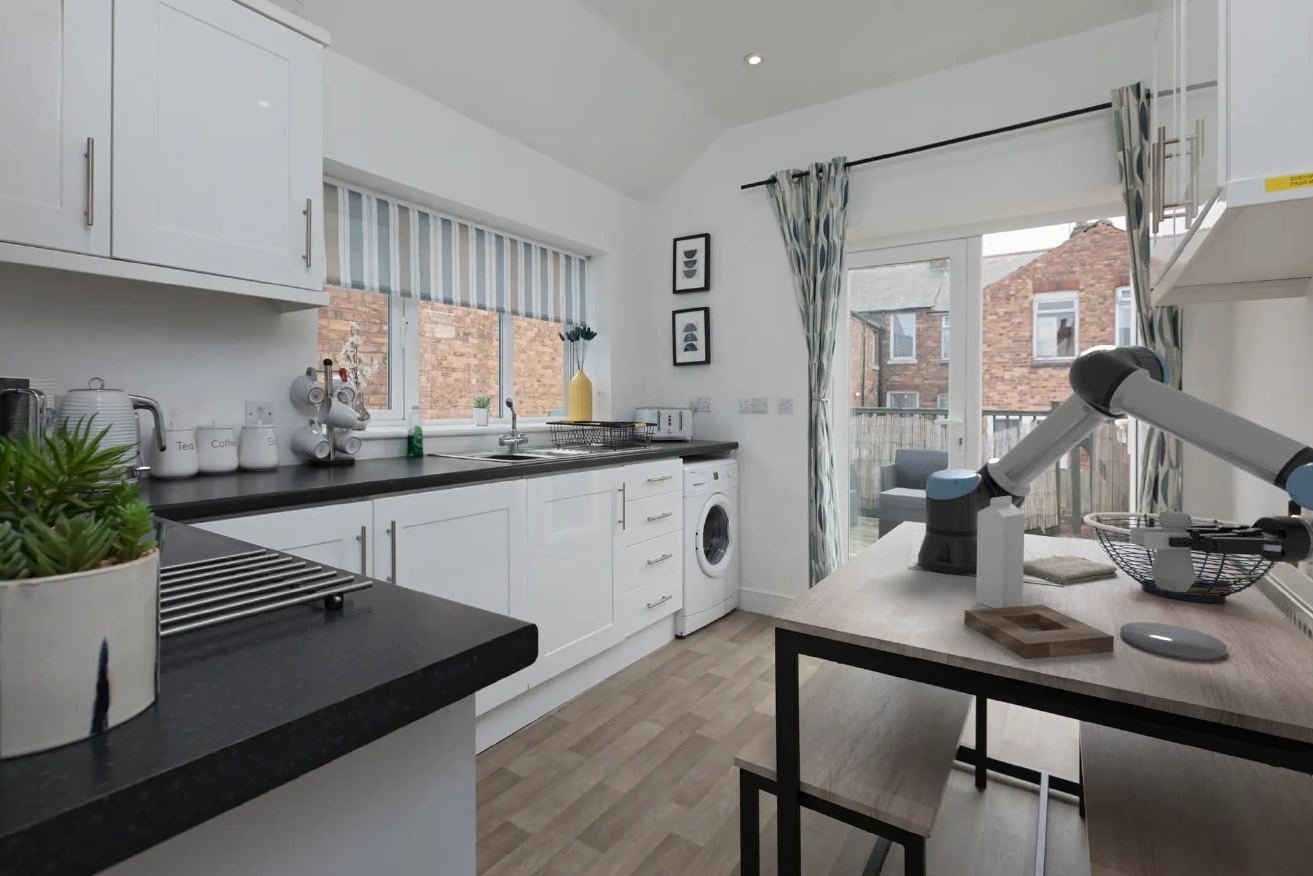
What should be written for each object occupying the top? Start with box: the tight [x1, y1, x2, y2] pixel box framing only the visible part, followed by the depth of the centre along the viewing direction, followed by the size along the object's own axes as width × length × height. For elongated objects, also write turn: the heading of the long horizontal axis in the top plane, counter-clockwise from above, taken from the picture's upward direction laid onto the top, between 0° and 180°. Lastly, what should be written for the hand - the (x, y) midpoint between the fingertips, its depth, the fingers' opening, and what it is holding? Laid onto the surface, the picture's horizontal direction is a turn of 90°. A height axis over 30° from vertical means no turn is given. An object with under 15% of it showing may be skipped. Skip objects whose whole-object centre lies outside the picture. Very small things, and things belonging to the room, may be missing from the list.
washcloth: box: [1023, 555, 1118, 585], centre depth 148 cm, size 12×18×3 cm, turn 111°
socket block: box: [964, 604, 1115, 660], centre depth 112 cm, size 16×16×2 cm
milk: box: [975, 496, 1026, 608], centre depth 128 cm, size 6×6×22 cm
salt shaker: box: [1150, 510, 1197, 593], centre depth 107 cm, size 6×6×13 cm
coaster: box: [1119, 621, 1228, 662], centre depth 108 cm, size 14×14×1 cm
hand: (1138, 538), depth 107 cm, fingers closed on salt shaker, 3 cm apart
